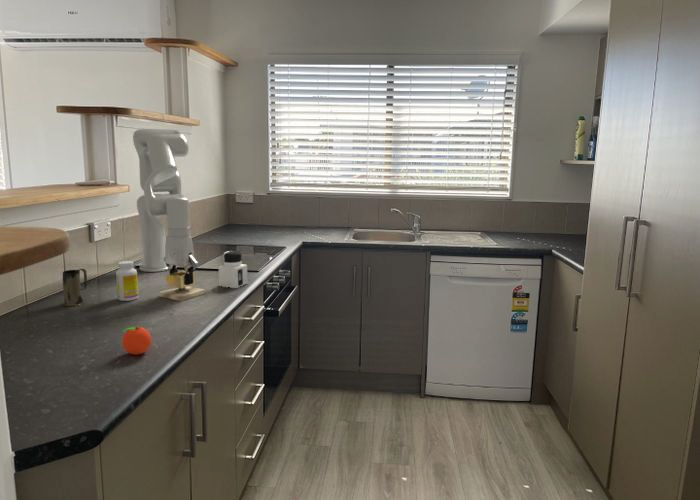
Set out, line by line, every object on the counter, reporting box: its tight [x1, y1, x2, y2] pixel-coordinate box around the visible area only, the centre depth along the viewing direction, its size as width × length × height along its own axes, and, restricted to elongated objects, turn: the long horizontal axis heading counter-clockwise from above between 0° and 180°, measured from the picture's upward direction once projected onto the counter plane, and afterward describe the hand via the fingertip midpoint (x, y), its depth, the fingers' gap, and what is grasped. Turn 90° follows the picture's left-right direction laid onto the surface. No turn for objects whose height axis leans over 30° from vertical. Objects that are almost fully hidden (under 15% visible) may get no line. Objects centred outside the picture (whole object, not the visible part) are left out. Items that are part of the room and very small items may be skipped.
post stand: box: [158, 286, 206, 302], centre depth 188 cm, size 11×11×6 cm
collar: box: [166, 270, 197, 288], centre depth 188 cm, size 7×7×4 cm
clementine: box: [118, 326, 152, 355], centre depth 136 cm, size 8×7×7 cm
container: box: [218, 250, 248, 289], centre depth 201 cm, size 8×8×13 cm
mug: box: [62, 268, 88, 307], centre depth 176 cm, size 8×6×12 cm
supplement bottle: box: [115, 260, 140, 302], centre depth 183 cm, size 7×7×13 cm
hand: (181, 282), depth 188 cm, fingers closed on collar, 6 cm apart
